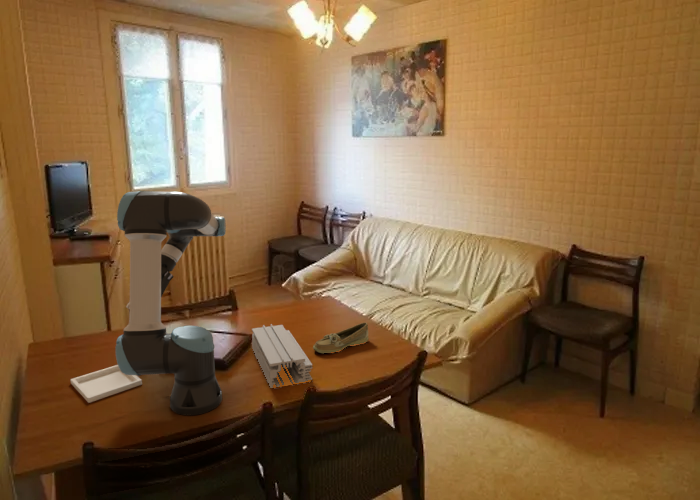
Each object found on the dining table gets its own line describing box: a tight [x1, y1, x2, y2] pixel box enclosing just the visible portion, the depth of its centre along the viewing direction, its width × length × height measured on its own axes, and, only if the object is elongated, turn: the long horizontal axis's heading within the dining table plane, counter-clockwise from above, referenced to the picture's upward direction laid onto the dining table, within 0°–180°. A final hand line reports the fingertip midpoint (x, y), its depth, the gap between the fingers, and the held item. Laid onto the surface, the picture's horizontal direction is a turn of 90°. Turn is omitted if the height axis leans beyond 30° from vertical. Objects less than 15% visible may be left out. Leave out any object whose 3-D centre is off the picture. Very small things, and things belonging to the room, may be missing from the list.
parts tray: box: [70, 364, 143, 404], centre depth 154 cm, size 16×16×2 cm
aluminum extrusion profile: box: [251, 323, 313, 389], centre depth 171 cm, size 14×31×10 cm, turn 22°
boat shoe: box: [312, 322, 369, 355], centre depth 188 cm, size 10×24×8 cm, turn 133°
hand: (135, 310), depth 178 cm, fingers closed on pebble cup, 6 cm apart
